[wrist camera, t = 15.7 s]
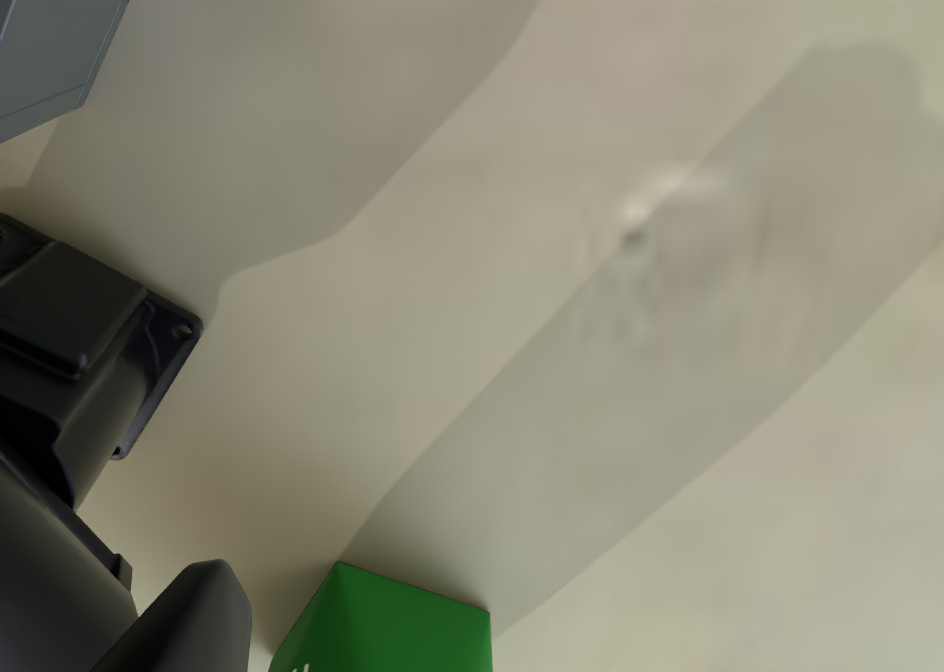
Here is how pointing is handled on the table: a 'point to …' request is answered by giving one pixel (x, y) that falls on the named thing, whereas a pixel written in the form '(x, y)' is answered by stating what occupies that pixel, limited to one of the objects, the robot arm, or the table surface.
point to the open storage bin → (50, 57)
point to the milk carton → (384, 629)
